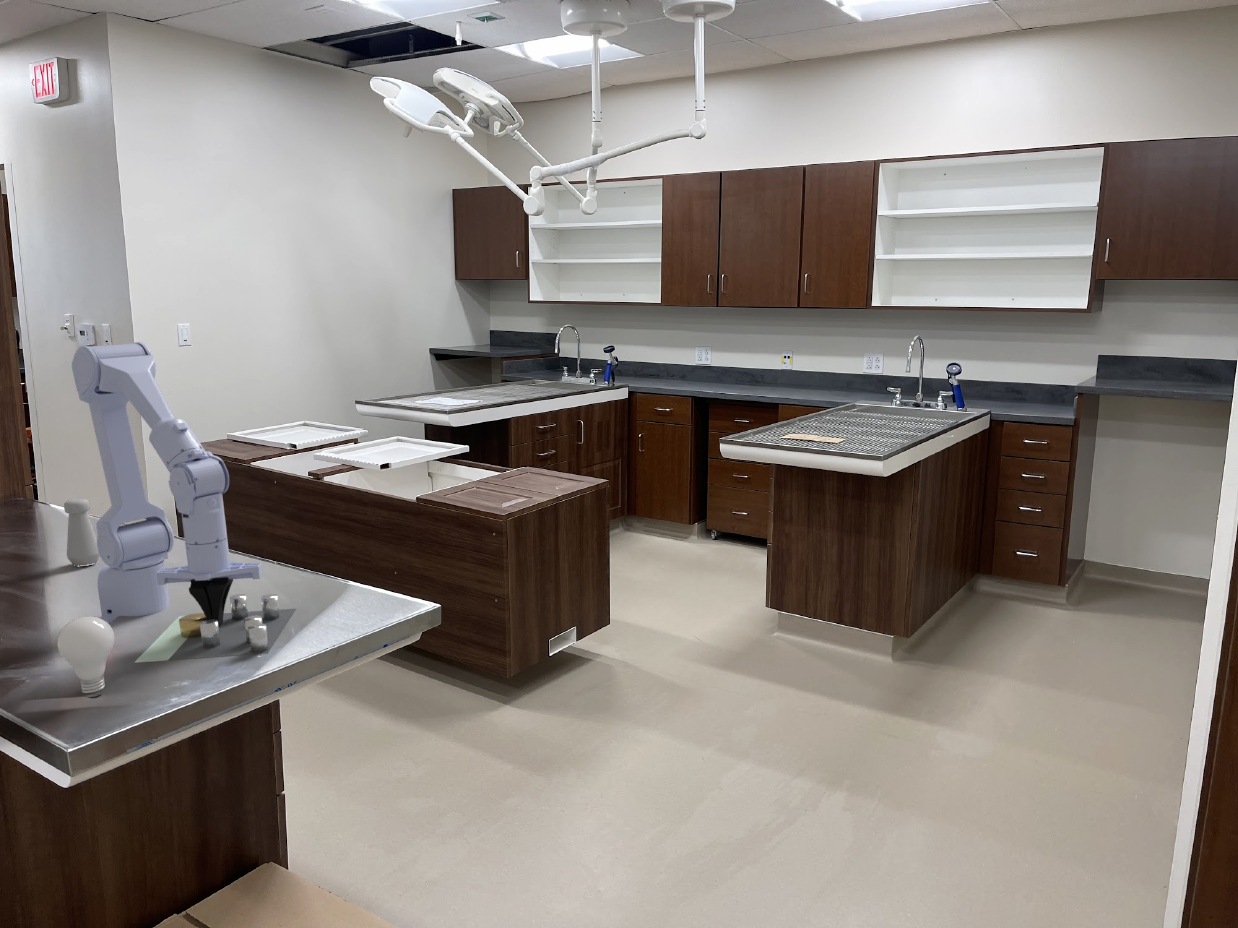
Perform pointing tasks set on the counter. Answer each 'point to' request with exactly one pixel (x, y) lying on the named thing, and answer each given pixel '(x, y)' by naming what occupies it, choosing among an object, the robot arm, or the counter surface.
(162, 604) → the robot arm
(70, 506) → the salt shaker
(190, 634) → the gold disc
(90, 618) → the lightbulb
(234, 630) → the mat
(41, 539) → the counter surface
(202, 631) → the spacers
